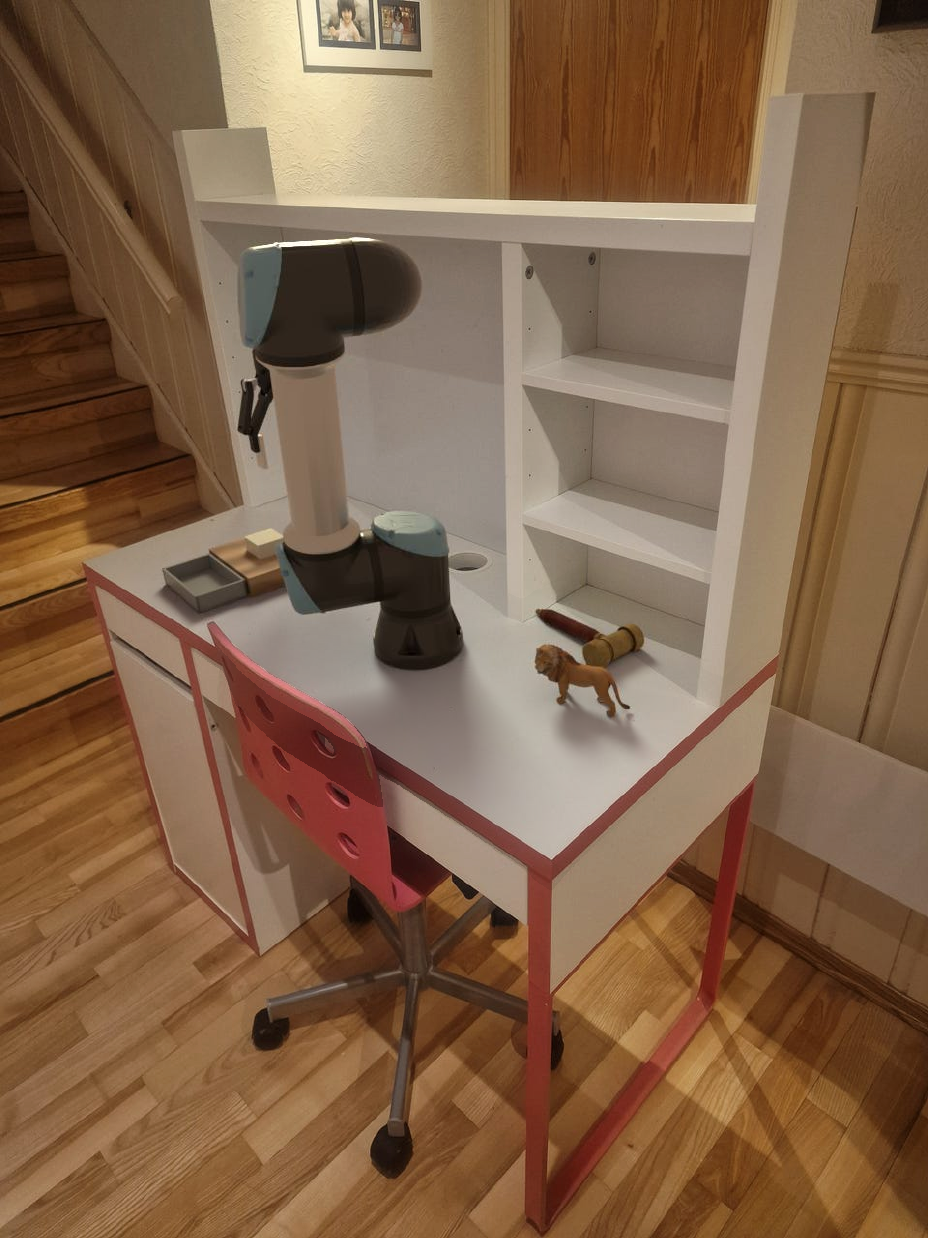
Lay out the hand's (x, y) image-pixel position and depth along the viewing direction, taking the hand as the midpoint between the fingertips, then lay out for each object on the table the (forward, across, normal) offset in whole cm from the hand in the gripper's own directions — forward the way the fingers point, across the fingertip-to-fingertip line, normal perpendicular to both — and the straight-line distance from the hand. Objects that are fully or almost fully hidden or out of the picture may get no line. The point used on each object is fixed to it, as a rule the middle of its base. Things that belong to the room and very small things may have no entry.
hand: (289, 460), depth 166 cm
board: (+21, +10, 0) cm, 23 cm away
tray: (+21, +22, 0) cm, 30 cm away
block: (+17, +8, 0) cm, 19 cm away
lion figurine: (+21, -4, +74) cm, 78 cm away
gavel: (+22, -18, +61) cm, 67 cm away
